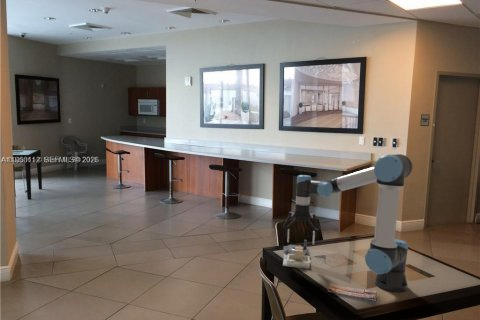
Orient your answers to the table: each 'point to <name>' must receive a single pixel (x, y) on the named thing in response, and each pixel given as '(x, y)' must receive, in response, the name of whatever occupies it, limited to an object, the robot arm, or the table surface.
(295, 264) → the base plate
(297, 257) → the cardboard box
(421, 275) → the table surface
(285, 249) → the sprocket
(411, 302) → the table surface
